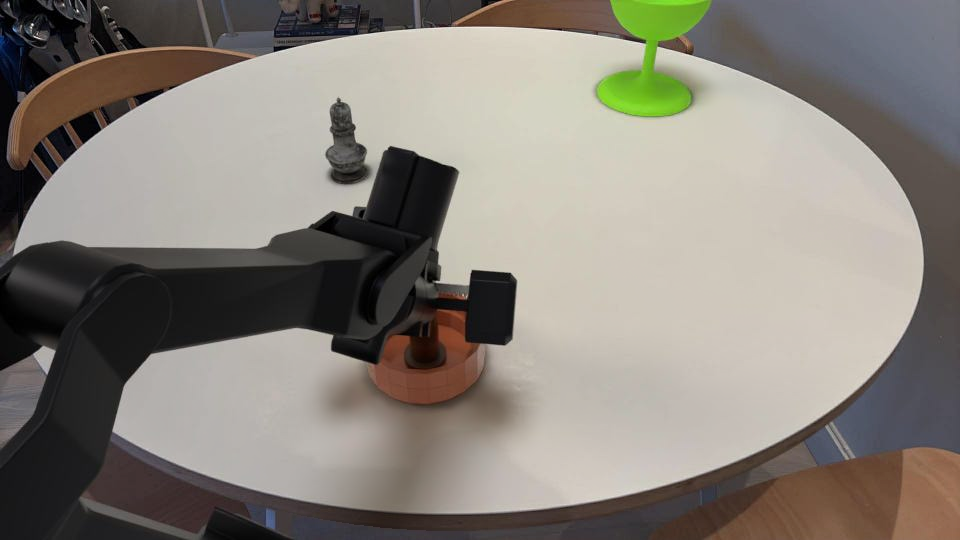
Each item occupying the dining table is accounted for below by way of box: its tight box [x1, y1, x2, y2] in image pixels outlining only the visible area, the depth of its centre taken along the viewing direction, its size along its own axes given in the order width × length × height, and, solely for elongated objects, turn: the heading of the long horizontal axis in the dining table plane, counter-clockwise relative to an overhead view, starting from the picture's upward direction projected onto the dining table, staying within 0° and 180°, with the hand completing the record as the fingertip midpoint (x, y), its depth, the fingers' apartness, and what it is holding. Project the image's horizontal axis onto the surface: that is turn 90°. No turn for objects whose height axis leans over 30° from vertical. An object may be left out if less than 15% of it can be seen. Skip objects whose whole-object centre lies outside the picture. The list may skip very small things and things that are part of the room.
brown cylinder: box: [404, 281, 447, 370], centre depth 69 cm, size 4×4×13 cm
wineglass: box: [596, 0, 713, 118], centre depth 114 cm, size 16×16×18 cm
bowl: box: [365, 292, 486, 405], centre depth 72 cm, size 12×12×5 cm
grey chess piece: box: [324, 96, 368, 185], centre depth 97 cm, size 6×6×12 cm
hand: (422, 305), depth 69 cm, fingers open, 9 cm apart
